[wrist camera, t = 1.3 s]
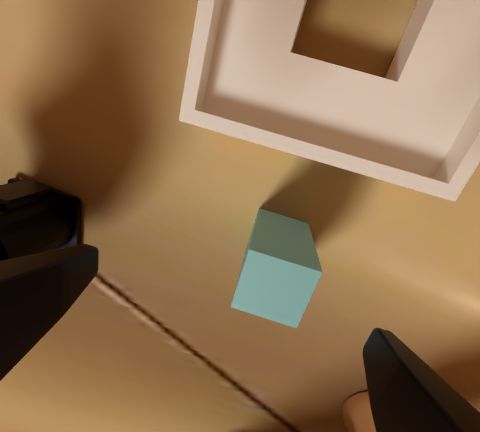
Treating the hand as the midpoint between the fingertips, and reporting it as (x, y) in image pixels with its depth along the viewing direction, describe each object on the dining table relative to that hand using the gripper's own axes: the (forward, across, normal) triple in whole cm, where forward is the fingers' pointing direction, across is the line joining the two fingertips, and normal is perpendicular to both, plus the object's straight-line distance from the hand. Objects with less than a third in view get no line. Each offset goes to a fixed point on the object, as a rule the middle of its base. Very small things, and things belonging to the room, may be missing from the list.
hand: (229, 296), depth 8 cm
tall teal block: (+12, -2, +3) cm, 13 cm away
